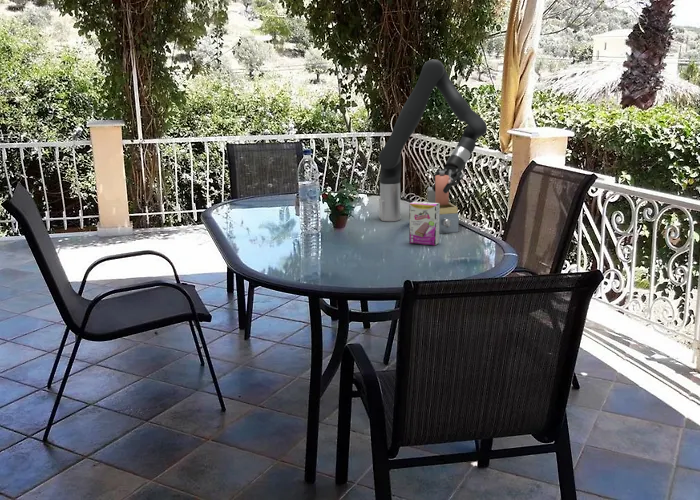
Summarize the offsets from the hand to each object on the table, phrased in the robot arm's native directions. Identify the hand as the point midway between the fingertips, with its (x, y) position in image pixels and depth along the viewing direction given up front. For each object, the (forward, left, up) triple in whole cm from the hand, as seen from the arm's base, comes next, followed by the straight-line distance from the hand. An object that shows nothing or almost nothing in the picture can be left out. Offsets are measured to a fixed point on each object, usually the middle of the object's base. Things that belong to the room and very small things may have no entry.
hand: (439, 191), depth 274 cm
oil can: (+2, +1, -6) cm, 6 cm away
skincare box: (+4, +15, -17) cm, 23 cm away
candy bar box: (-12, -19, -17) cm, 28 cm away
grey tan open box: (+1, +1, -17) cm, 17 cm away
